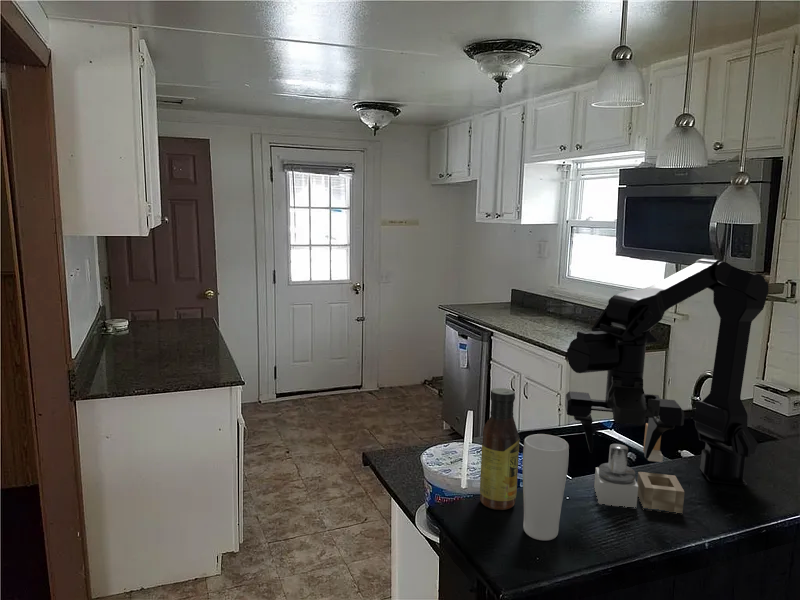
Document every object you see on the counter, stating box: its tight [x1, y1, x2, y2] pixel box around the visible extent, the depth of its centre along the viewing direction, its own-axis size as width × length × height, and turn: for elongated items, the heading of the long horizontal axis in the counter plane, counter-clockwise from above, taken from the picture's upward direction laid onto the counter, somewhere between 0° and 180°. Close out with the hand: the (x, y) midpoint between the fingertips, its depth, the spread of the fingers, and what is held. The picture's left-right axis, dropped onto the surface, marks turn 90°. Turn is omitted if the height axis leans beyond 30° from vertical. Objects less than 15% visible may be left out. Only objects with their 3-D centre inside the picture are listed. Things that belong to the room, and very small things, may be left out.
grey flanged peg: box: [598, 443, 636, 485], centre depth 102 cm, size 6×6×9 cm
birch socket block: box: [636, 471, 685, 514], centre depth 101 cm, size 6×6×4 cm
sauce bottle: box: [479, 387, 520, 511], centre depth 98 cm, size 7×6×20 cm
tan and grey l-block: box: [642, 422, 664, 463], centre depth 107 cm, size 2×5×5 cm, turn 168°
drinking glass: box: [521, 433, 570, 542], centre depth 90 cm, size 7×7×15 cm
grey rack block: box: [593, 466, 638, 509], centre depth 102 cm, size 6×6×4 cm
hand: (618, 454), depth 101 cm, fingers open, 9 cm apart
